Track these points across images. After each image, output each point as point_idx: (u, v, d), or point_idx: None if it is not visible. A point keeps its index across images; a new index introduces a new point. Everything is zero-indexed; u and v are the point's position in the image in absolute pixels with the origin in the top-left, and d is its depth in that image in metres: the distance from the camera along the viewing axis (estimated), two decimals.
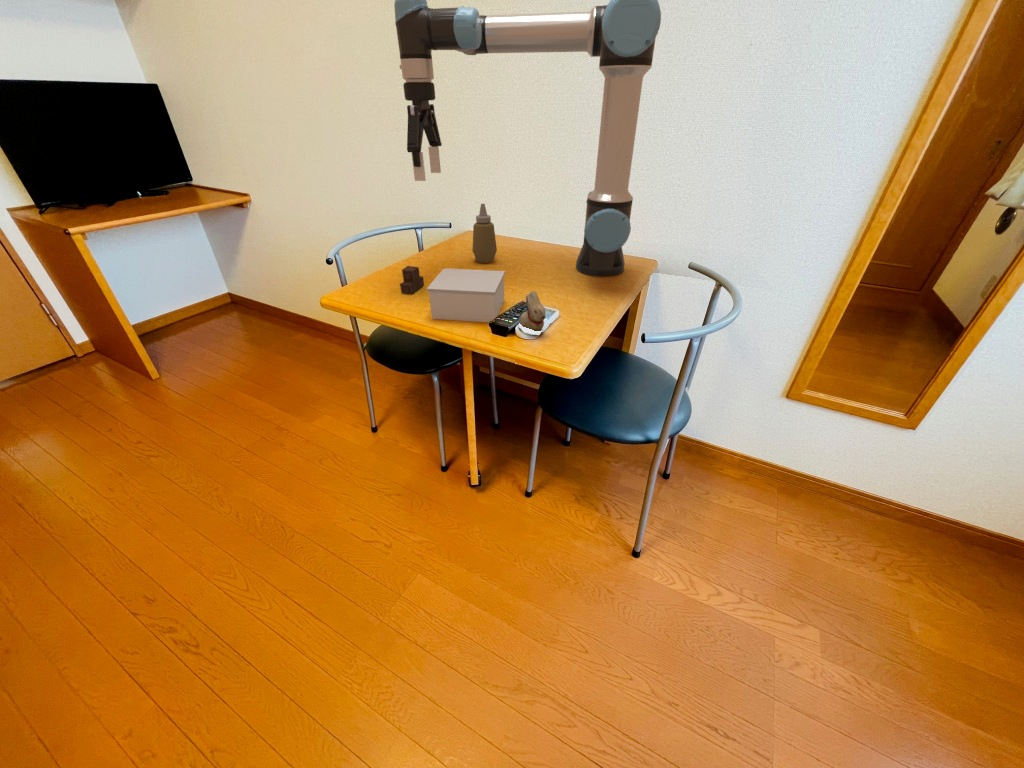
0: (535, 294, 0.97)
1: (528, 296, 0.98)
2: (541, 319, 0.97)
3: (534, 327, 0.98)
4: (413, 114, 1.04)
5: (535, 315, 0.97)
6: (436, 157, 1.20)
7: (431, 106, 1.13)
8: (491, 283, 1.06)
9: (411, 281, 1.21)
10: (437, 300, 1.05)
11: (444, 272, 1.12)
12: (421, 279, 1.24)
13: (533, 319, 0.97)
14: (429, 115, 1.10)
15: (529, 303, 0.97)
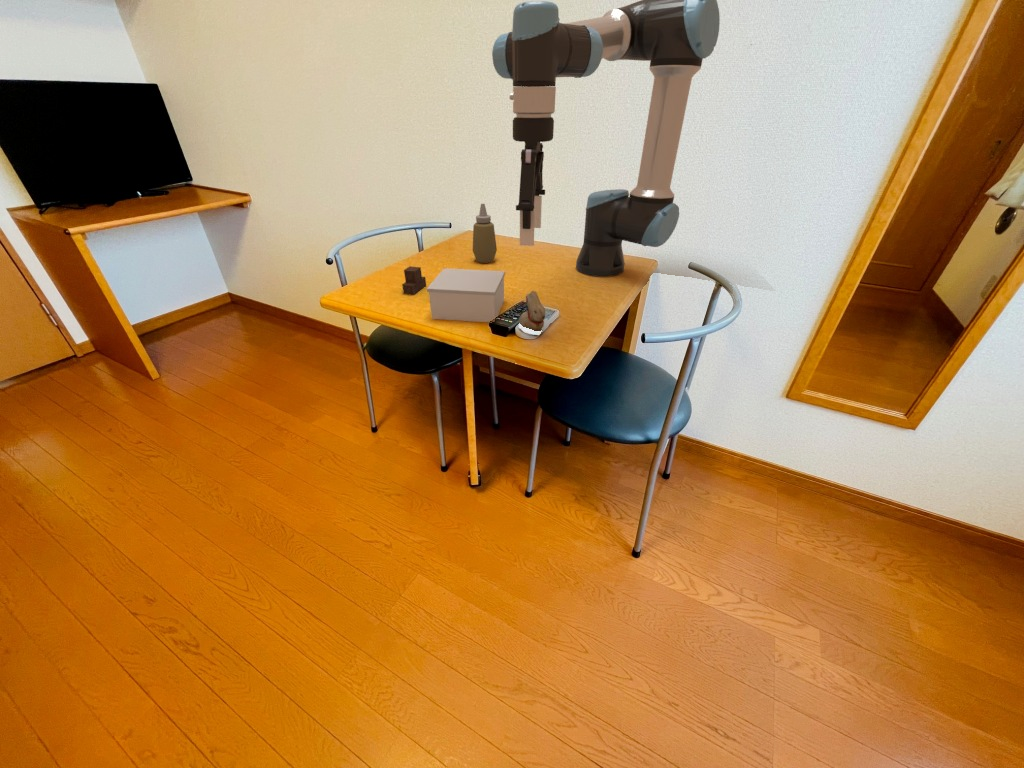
0: (535, 294, 0.97)
1: (528, 296, 0.98)
2: (541, 319, 0.97)
3: (534, 327, 0.98)
4: (529, 161, 0.76)
5: (535, 315, 0.97)
6: (538, 209, 0.93)
7: (540, 146, 0.85)
8: (491, 283, 1.06)
9: (413, 281, 1.21)
10: (437, 300, 1.05)
11: (444, 272, 1.12)
12: (423, 279, 1.24)
13: (533, 319, 0.97)
14: None
15: (529, 303, 0.97)
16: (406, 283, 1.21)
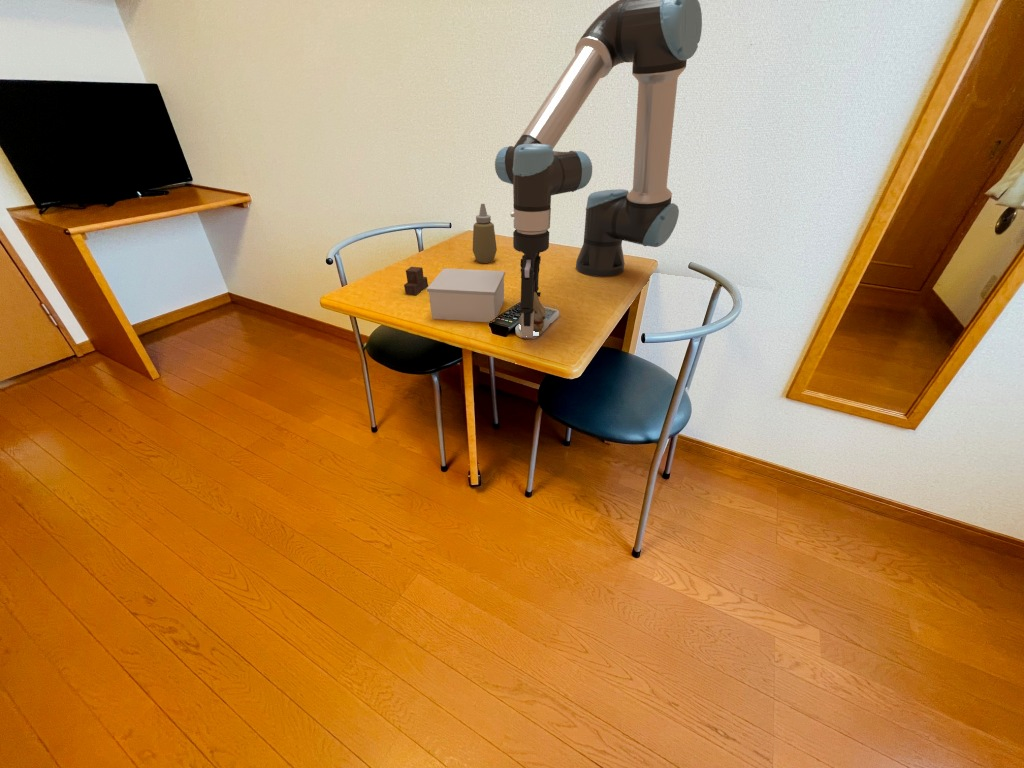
0: (535, 294, 0.97)
1: None
2: (541, 319, 0.97)
3: (534, 327, 0.98)
4: (527, 277, 0.88)
5: (535, 315, 0.96)
6: None
7: (537, 251, 0.97)
8: (491, 283, 1.06)
9: (415, 282, 1.20)
10: (437, 300, 1.05)
11: (444, 272, 1.12)
12: (425, 280, 1.24)
13: None
14: None
15: None
16: (408, 283, 1.20)
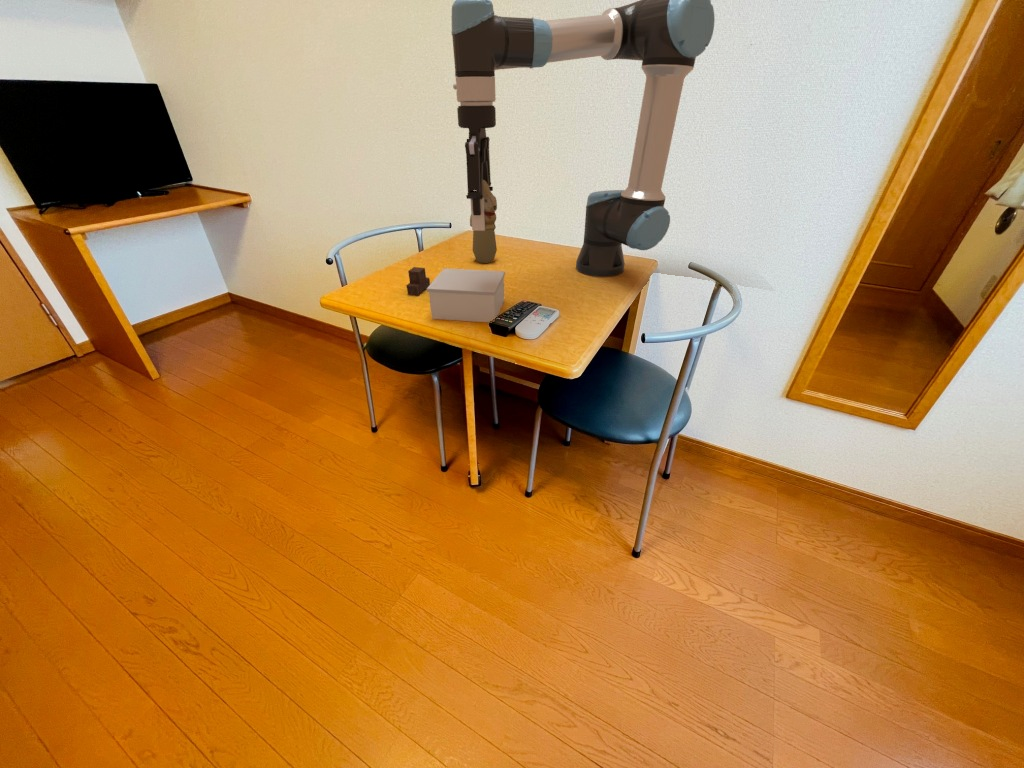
0: (485, 183, 0.92)
1: None
2: (492, 209, 0.92)
3: (486, 219, 0.93)
4: (473, 153, 0.84)
5: (486, 204, 0.92)
6: None
7: None
8: (491, 283, 1.06)
9: (417, 282, 1.20)
10: (437, 300, 1.05)
11: (444, 272, 1.12)
12: (427, 280, 1.23)
13: (484, 210, 0.92)
14: None
15: None
16: (410, 284, 1.20)
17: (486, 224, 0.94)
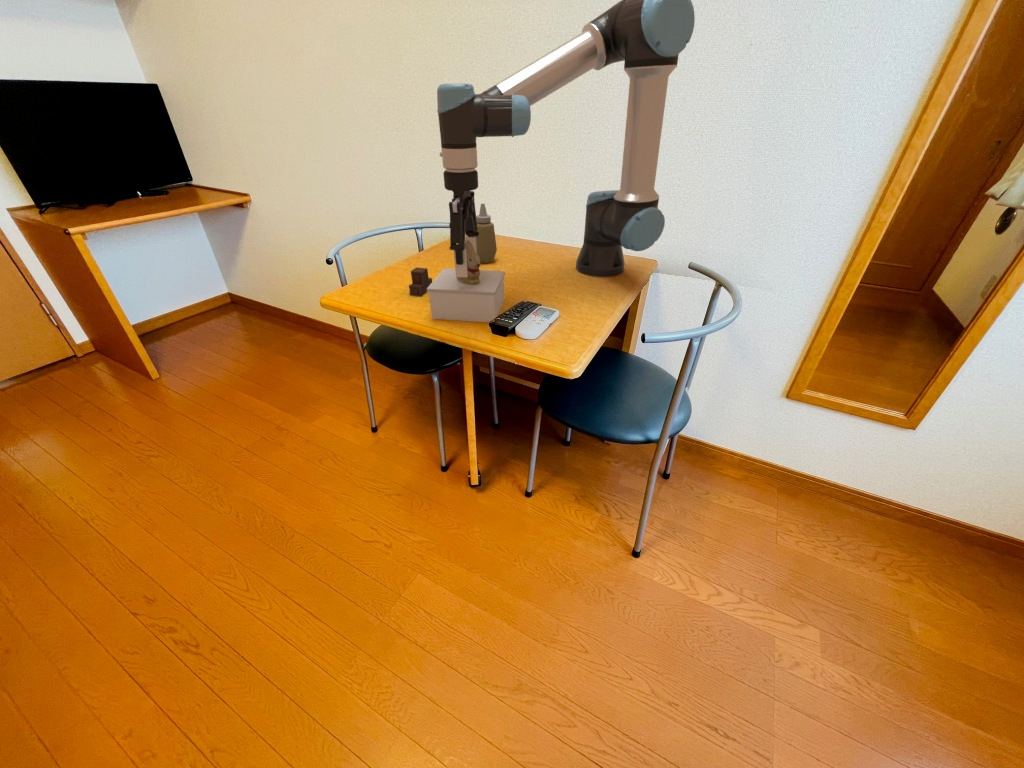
0: (469, 243, 1.02)
1: None
2: (476, 267, 1.02)
3: (470, 275, 1.04)
4: (456, 211, 0.93)
5: (470, 263, 1.02)
6: None
7: (471, 193, 1.02)
8: (491, 283, 1.06)
9: (420, 283, 1.20)
10: (437, 300, 1.05)
11: (444, 272, 1.12)
12: (430, 281, 1.23)
13: (469, 267, 1.03)
14: (470, 203, 0.99)
15: None
16: (413, 284, 1.20)
17: (471, 279, 1.05)
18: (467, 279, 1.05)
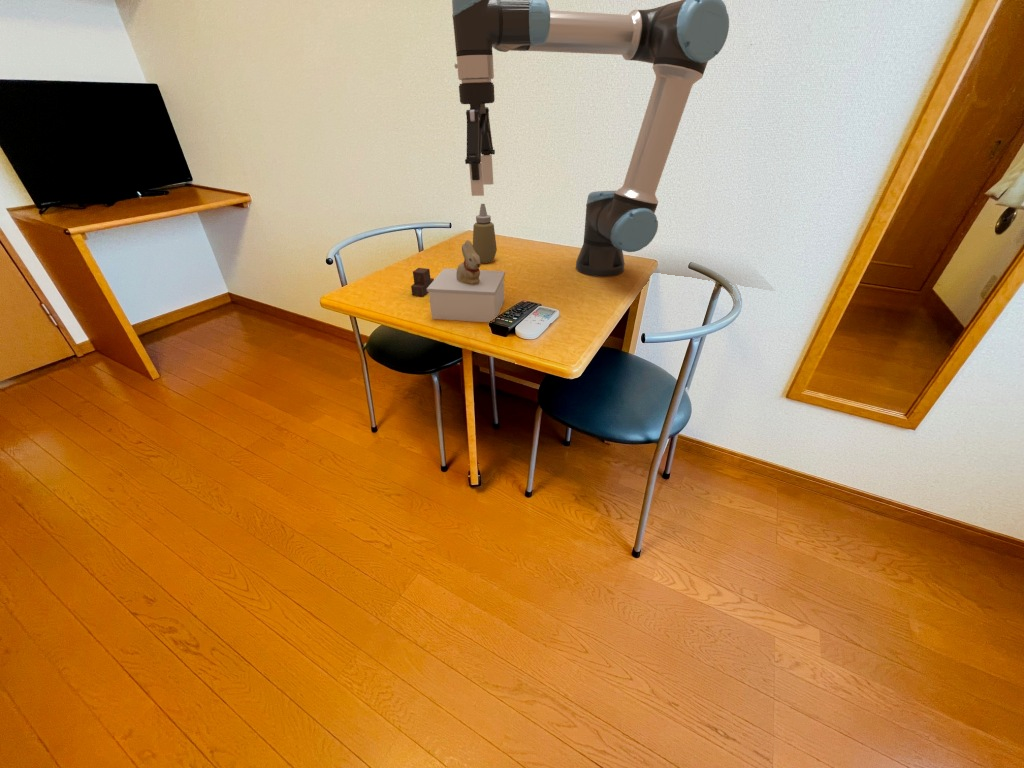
0: (469, 243, 1.02)
1: (463, 246, 1.03)
2: (476, 267, 1.02)
3: (470, 275, 1.04)
4: (473, 120, 0.90)
5: (470, 263, 1.02)
6: (489, 167, 1.06)
7: (486, 109, 0.99)
8: (491, 283, 1.06)
9: (422, 283, 1.20)
10: (437, 300, 1.05)
11: (444, 272, 1.12)
12: (432, 281, 1.23)
13: (469, 267, 1.03)
14: (486, 120, 0.96)
15: (464, 252, 1.02)
16: (415, 285, 1.19)
17: (471, 279, 1.05)
18: (467, 279, 1.05)
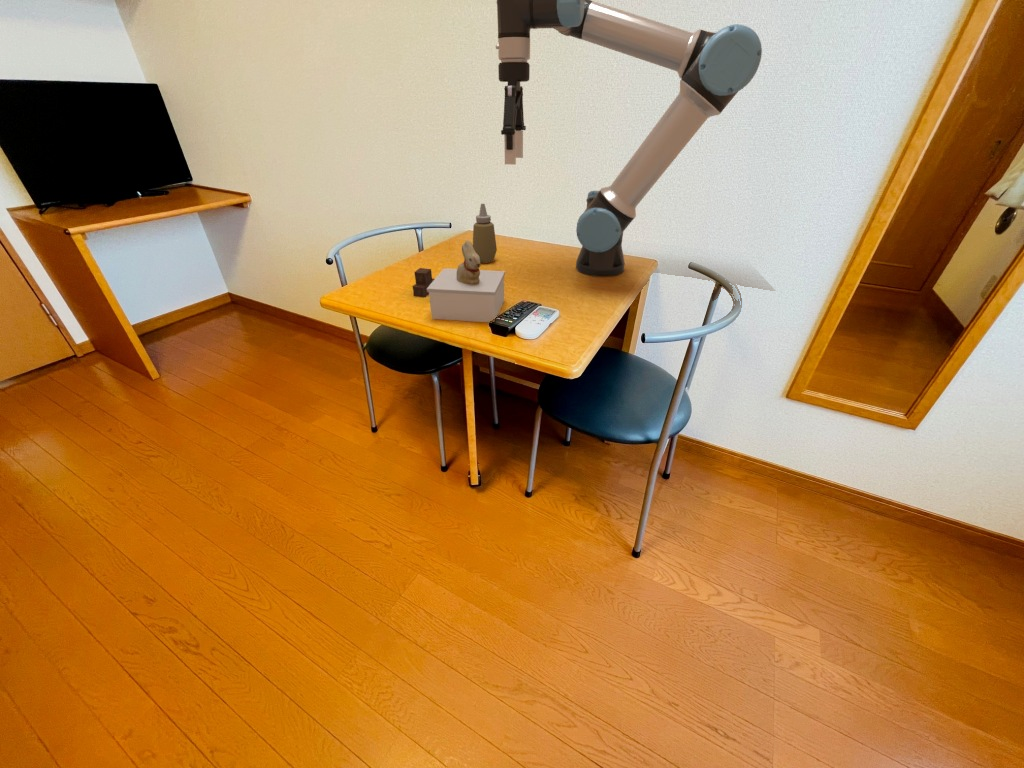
0: (469, 243, 1.02)
1: (463, 246, 1.03)
2: (476, 267, 1.02)
3: (470, 275, 1.04)
4: (510, 95, 1.01)
5: (470, 263, 1.02)
6: (520, 141, 1.18)
7: (520, 88, 1.11)
8: (491, 283, 1.06)
9: (424, 283, 1.19)
10: (437, 300, 1.05)
11: (444, 272, 1.12)
12: None
13: (469, 267, 1.03)
14: (521, 97, 1.08)
15: (464, 252, 1.02)
16: (416, 285, 1.19)
17: (471, 279, 1.05)
18: (467, 279, 1.05)
